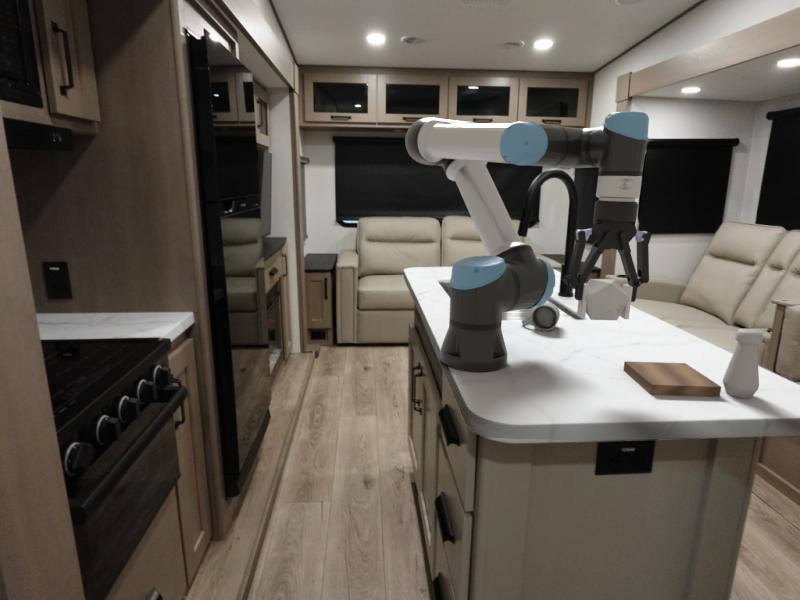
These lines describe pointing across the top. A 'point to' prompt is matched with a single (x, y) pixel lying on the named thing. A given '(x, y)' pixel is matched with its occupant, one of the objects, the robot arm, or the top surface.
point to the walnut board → (671, 379)
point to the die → (605, 299)
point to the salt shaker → (744, 365)
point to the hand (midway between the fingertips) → (602, 316)
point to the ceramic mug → (543, 317)
